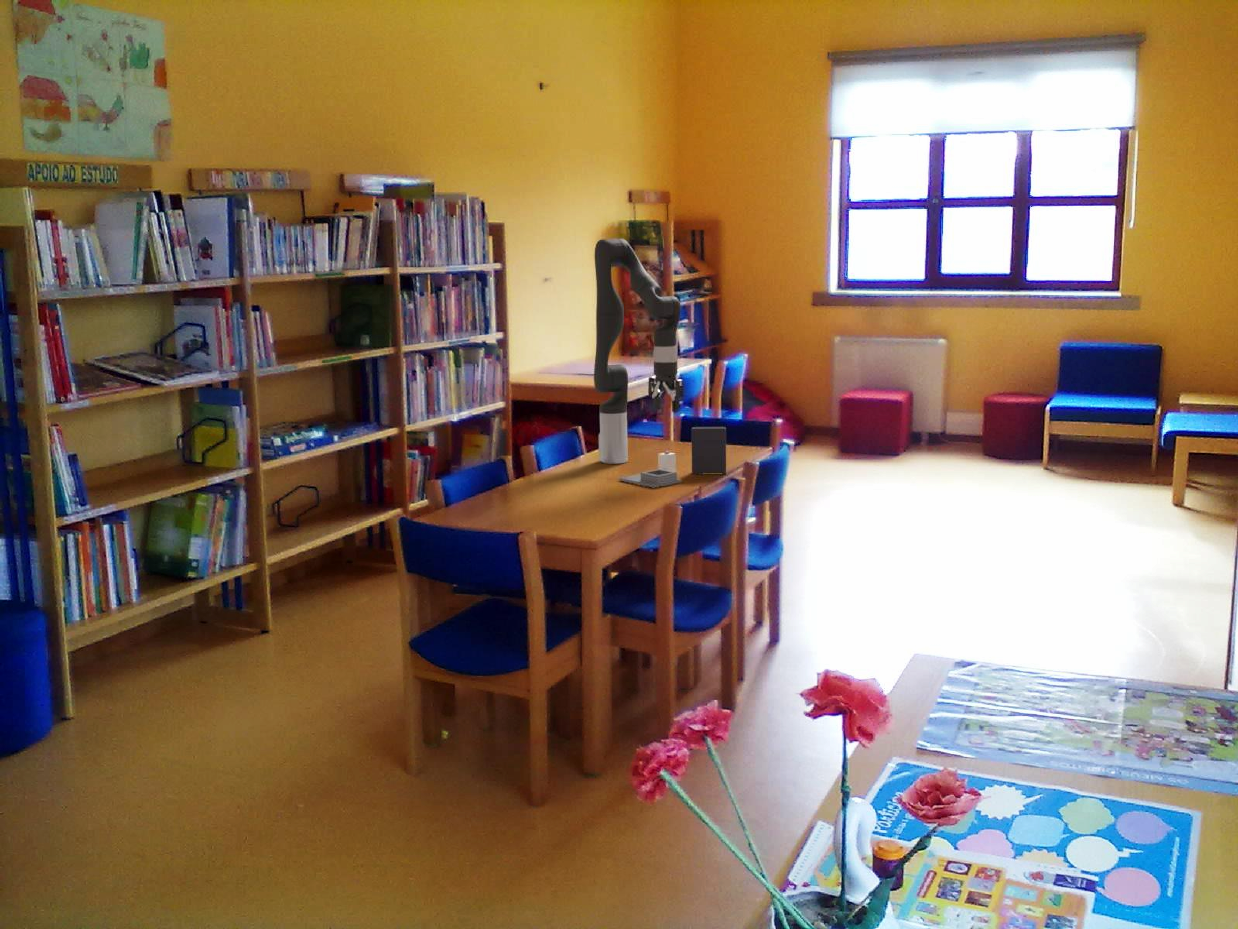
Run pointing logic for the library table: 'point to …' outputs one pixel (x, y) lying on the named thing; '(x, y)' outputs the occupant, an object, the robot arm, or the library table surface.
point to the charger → (667, 461)
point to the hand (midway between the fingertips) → (666, 410)
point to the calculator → (708, 450)
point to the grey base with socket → (653, 478)
